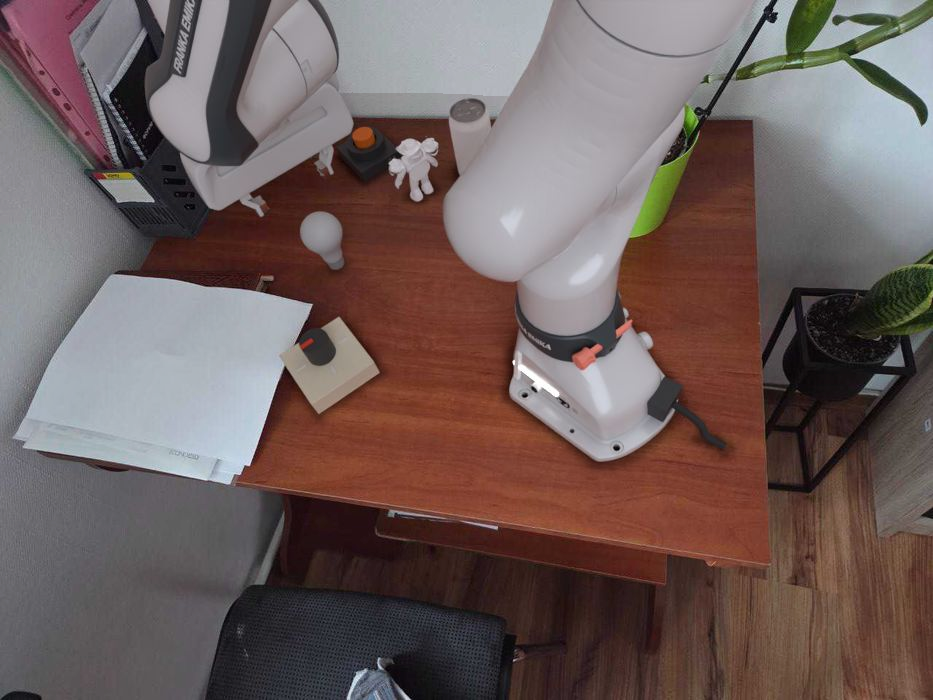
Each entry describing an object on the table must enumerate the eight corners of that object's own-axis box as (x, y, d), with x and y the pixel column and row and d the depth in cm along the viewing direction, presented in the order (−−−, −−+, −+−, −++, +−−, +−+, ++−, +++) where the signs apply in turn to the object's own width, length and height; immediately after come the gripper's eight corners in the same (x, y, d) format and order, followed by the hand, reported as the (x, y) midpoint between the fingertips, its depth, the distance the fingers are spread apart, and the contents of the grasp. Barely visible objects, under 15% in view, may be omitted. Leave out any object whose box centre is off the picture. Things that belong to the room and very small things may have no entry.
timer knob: (326, 336, 86) (317, 321, 83) (341, 354, 84) (332, 339, 81) (303, 353, 86) (292, 338, 82) (317, 371, 84) (307, 357, 80)
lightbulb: (356, 279, 95) (334, 230, 86) (318, 284, 96) (291, 237, 86) (357, 249, 99) (336, 199, 89) (320, 254, 99) (295, 205, 90)
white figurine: (406, 213, 101) (389, 156, 91) (394, 200, 103) (375, 143, 93) (450, 185, 103) (438, 126, 93) (437, 174, 105) (424, 114, 95)
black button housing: (402, 159, 108) (397, 141, 105) (364, 182, 107) (358, 164, 103) (376, 135, 113) (370, 117, 109) (339, 156, 111) (332, 138, 108)
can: (496, 181, 102) (488, 121, 92) (457, 185, 103) (445, 125, 93) (496, 154, 106) (488, 94, 96) (458, 158, 106) (447, 98, 96)
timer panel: (379, 372, 86) (374, 361, 83) (318, 414, 84) (310, 404, 81) (345, 327, 91) (338, 315, 88) (286, 365, 89) (277, 354, 86)
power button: (379, 141, 106) (376, 133, 105) (361, 152, 105) (358, 143, 104) (368, 132, 108) (365, 123, 106) (351, 142, 107) (348, 133, 106)
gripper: (315, 44, 71) (350, 140, 82) (155, 131, 66) (216, 220, 78) (343, 67, 68) (375, 164, 79) (176, 160, 63) (237, 248, 75)
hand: (295, 192), depth 78 cm, fingers open, 8 cm apart
